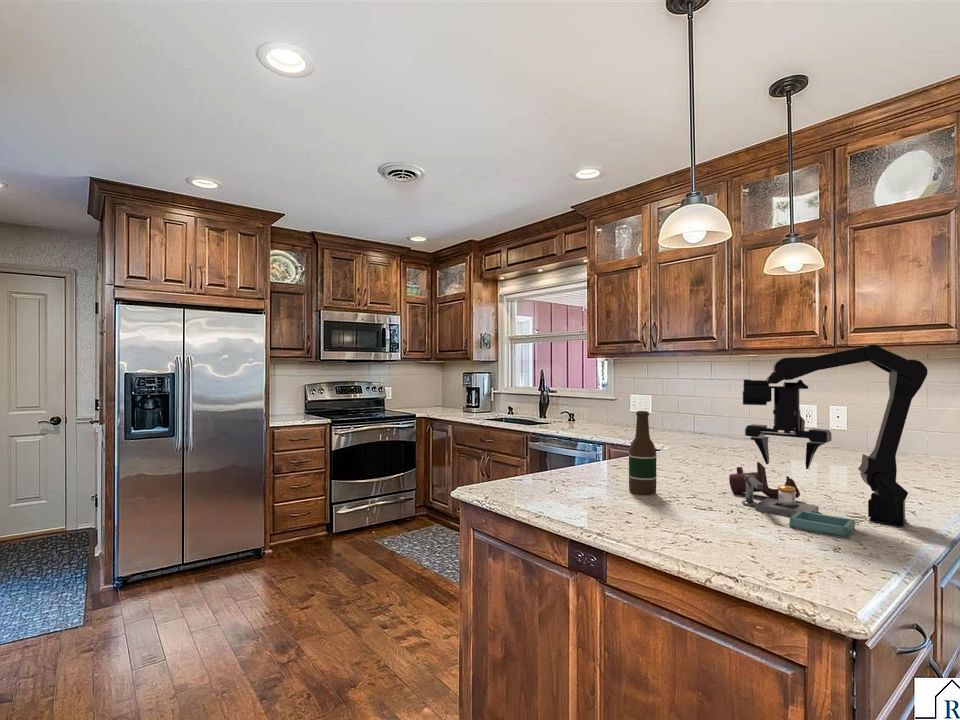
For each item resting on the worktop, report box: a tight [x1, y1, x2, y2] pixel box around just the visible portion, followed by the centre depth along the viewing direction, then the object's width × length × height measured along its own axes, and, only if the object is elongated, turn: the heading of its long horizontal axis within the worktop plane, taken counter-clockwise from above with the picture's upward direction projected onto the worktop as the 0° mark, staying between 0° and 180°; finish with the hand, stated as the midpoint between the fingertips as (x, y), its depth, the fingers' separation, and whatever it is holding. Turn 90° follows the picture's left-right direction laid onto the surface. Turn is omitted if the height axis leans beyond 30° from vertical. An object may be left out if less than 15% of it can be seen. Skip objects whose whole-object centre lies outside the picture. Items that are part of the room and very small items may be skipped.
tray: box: [789, 511, 856, 539], centre depth 121 cm, size 11×9×2 cm
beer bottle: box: [628, 410, 657, 496], centre depth 156 cm, size 8×8×24 cm
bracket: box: [728, 461, 801, 499], centre depth 152 cm, size 6×17×10 cm, turn 53°
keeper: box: [744, 475, 763, 490], centre depth 138 cm, size 13×3×1 cm, turn 165°
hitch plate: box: [741, 481, 819, 517], centre depth 138 cm, size 17×10×6 cm, turn 46°
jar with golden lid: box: [777, 485, 796, 509], centre depth 136 cm, size 4×4×6 cm
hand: (786, 466), depth 136 cm, fingers open, 9 cm apart
